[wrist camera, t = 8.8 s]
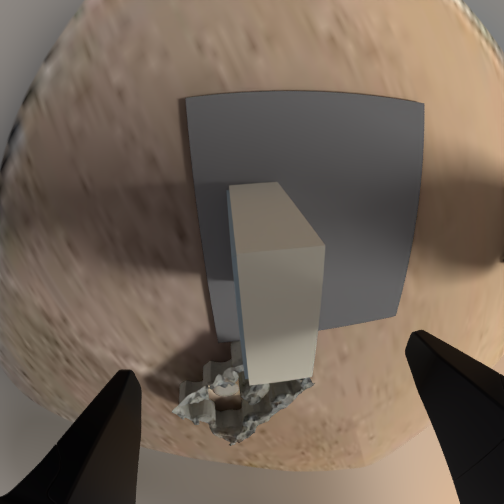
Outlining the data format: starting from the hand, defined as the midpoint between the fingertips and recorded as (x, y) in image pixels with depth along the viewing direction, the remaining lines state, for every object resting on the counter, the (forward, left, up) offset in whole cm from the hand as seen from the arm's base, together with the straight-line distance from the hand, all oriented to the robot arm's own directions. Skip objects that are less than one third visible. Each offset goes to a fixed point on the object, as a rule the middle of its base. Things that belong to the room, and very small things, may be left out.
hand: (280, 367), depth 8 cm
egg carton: (+2, +13, -11) cm, 17 cm away
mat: (-4, 0, -10) cm, 11 cm away
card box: (0, 0, -10) cm, 10 cm away
